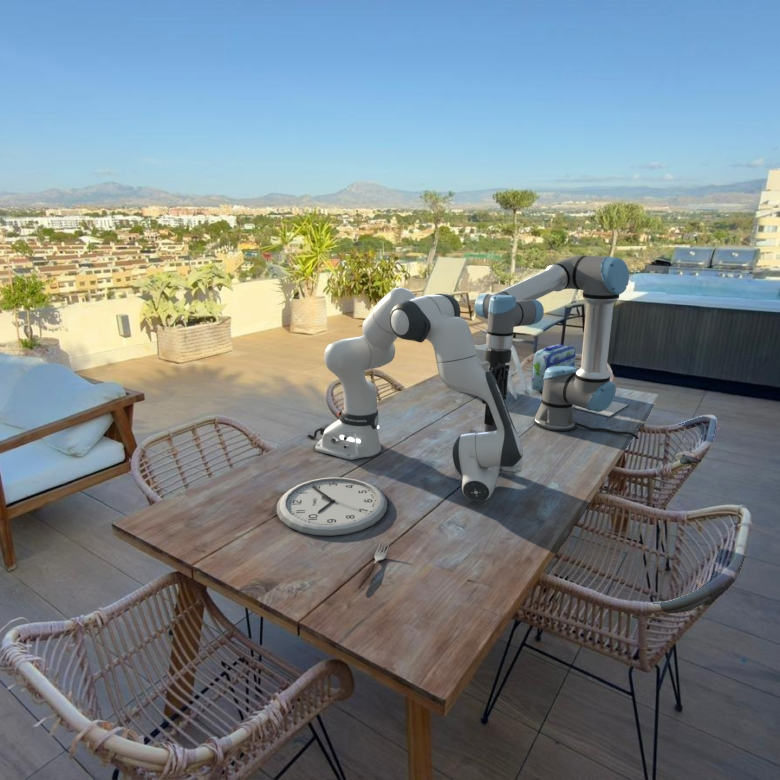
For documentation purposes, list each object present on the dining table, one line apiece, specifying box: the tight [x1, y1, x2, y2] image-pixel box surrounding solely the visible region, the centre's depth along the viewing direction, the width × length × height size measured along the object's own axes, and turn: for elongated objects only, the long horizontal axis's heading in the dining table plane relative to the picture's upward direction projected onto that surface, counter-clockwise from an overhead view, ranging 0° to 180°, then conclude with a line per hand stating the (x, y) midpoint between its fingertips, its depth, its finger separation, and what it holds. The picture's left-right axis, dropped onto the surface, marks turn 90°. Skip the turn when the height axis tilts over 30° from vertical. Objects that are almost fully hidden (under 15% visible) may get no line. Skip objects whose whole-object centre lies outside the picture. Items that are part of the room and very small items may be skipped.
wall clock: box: [276, 476, 388, 537], centre depth 142 cm, size 30×2×30 cm
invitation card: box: [573, 400, 629, 418], centre depth 226 cm, size 21×1×15 cm
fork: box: [357, 541, 391, 589], centre depth 116 cm, size 3×16×2 cm, turn 160°
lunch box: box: [530, 344, 577, 392], centre depth 247 cm, size 26×11×21 cm, turn 134°
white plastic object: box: [475, 343, 531, 400], centre depth 245 cm, size 37×45×31 cm
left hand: (490, 449), depth 165 cm, fingers closed on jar, 4 cm apart
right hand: (492, 421), depth 162 cm, fingers closed on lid, 5 cm apart
